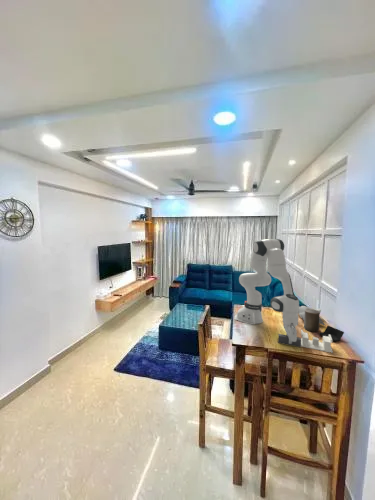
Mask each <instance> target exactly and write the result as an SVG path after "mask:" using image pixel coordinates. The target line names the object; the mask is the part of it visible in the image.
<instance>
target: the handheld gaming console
mask: <svg viewBox="0 0 375 500" xmlns="http://www.w3.org/2000/svg"><path fill="white" fill-rule="evenodd" d="M318 334H319V336H322V337H323V336H329V334H330V335H331V338H332V342H339V341H341V339H342V337H343V335H344V334H345V331H343V330H341V329H338V328H336V327H333V326H330V325H326V328H325V330H324V331H322V332H318Z"/></svg>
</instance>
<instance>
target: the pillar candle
mask: <svg viewBox="0 0 375 500" xmlns="http://www.w3.org/2000/svg"><path fill="white" fill-rule="evenodd" d="M320 315H321V312H319V311H317V310H316V309H313V308H312V309H305V315H304V320H303V329H305V330H306V331H309V332H314V333H317V332H319V331H320V323H319V317H320Z"/></svg>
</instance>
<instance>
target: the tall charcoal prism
mask: <svg viewBox="0 0 375 500" xmlns="http://www.w3.org/2000/svg"><path fill="white" fill-rule="evenodd" d="M301 339H302V337H299V336H297V341H296V342H292V344H289V342H288V340H289V338H288V336H287V334H282V333H278V336H277V343H278V344H283V345H288V346H293V347H299V348H301Z"/></svg>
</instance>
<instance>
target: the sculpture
mask: <svg viewBox="0 0 375 500" xmlns="http://www.w3.org/2000/svg"><path fill="white" fill-rule="evenodd" d="M305 309H313V308H311V307H309V306H305V305H301V306H299V312H298V317H300V318H301V319H302V320H303V321H304V315H305ZM315 310H317V311H319V312H320V313H321V312H322V309H321V308H317V309H315ZM319 325H322V326H324V327H325V326H326V327H327V325H326V324H325V323H324V320H322V318H321V317H320V316H319Z"/></svg>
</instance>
